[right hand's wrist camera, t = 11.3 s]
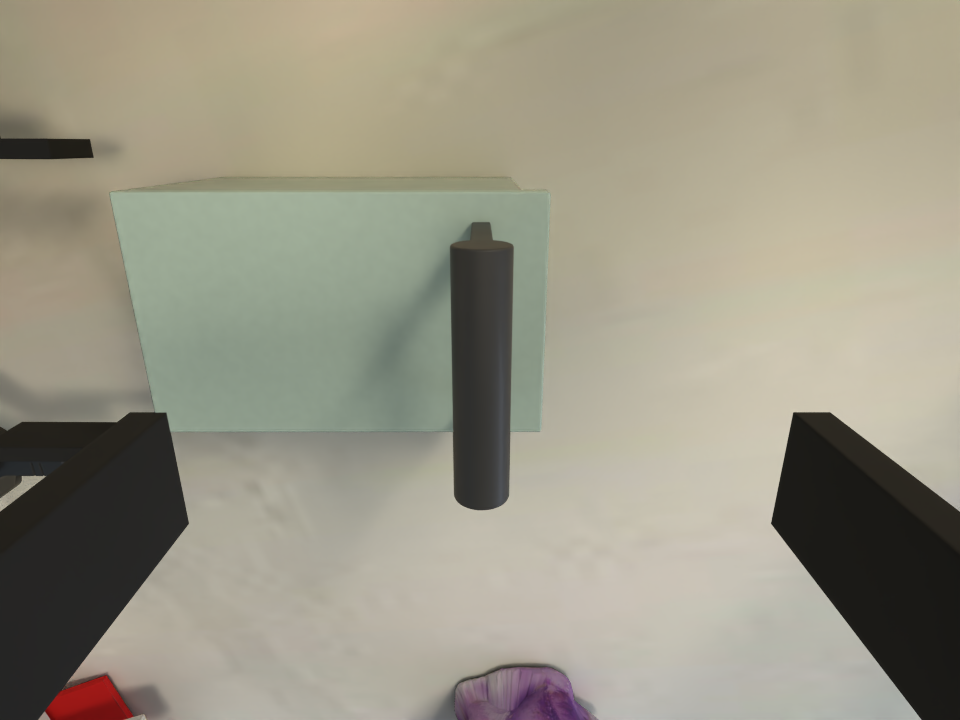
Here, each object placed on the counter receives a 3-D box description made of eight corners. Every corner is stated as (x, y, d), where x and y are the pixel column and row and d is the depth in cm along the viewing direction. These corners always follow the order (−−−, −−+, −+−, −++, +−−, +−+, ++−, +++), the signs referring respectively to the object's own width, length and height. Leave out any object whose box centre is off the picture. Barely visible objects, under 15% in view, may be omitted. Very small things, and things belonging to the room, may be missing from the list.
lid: (547, 189, 22) (582, 212, 15) (539, 421, 26) (564, 536, 18) (124, 189, 22) (-58, 212, 15) (170, 421, 26) (41, 537, 18)
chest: (511, 177, 31) (523, 189, 22) (508, 353, 34) (517, 421, 26) (220, 177, 31) (124, 189, 22) (246, 353, 34) (171, 421, 26)
